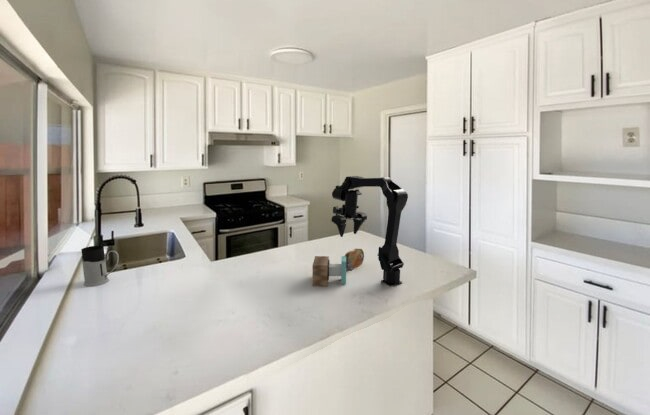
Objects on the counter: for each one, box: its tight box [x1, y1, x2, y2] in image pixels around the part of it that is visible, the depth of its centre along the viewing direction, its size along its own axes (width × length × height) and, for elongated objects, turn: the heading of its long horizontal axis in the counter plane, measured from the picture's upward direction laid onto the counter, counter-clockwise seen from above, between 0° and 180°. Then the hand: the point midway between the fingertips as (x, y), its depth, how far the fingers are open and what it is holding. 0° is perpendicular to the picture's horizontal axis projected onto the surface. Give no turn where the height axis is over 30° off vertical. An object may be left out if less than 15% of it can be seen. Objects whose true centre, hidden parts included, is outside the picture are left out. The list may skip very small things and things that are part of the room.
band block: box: [312, 255, 331, 288], centre depth 137 cm, size 6×12×9 cm, turn 177°
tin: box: [344, 248, 365, 271], centre depth 155 cm, size 15×3×8 cm, turn 143°
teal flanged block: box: [329, 255, 347, 285], centre depth 137 cm, size 9×7×10 cm
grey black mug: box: [81, 245, 120, 288], centre depth 134 cm, size 9×14×15 cm, turn 94°
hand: (348, 235), depth 153 cm, fingers open, 9 cm apart
